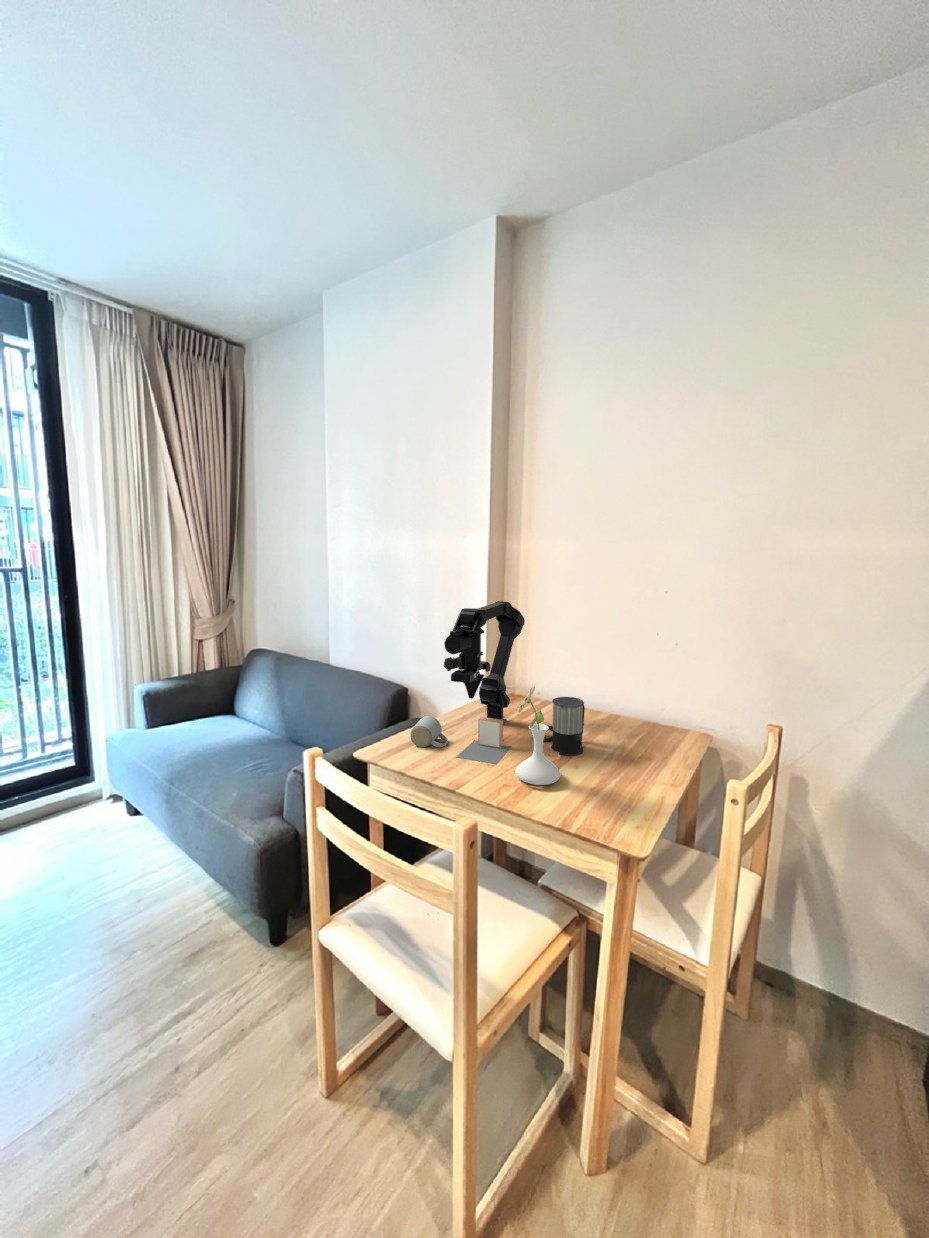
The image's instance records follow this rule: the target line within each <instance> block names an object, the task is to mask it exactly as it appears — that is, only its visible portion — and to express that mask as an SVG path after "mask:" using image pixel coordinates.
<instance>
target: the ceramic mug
mask: <svg viewBox="0 0 929 1238" xmlns="http://www.w3.org/2000/svg"><path fill="white" fill-rule="evenodd" d="M438 739H441V740H442V741H443V743H441V742H438V741H437V740H438ZM410 741H411V742H412V744H413V745H415V746H416V747H417V748H418V747H419V748H428V747H429V746H431V745H432V746H434V747H436V748H443V747H445V746H447V745H448V743H449V740H448V737H446V735H445V734H444V733H442V725H441V723H440V721H439V720H438V719H437V718H436V717H435V716H432V715H425V716H423V717H422V718H420V719H419V720H418V721H417V723H416V724H414V726H413V727H412V729H411V731H410Z"/></svg>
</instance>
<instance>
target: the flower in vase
mask: <svg viewBox="0 0 929 1238" xmlns="http://www.w3.org/2000/svg"><path fill="white" fill-rule="evenodd" d="M535 689H536V686H535V685H531V687H530V689H529V691H528V693H527V696H525V697H524V699H523V701H522V703H521V704H520V705H519V707H518V709H517V710H516V712H517V713H518V714H520V713H521V712H523V710H524V708H525V707H526V705H527V704H530V705H531V707H532V709H533V712H534V715H533V718H534V719H533V720H532V722H531V723H530V725H528V728H529V730H530V732H531V734H532V739H533V752H532V755H531V756H529V757H528V758H526V759H524V760H523V761H522V762H521V763H519V764H518V765H516V768H515V771H514V772H515V775H516V777H517V778H518V779H519V780H520V781H522V782H525V784H531V785H536V786H546V785H551V784H554V783H556V782H558V781H559V779H560V778H561V776H562V775H561V774H562V773H561V772H560V769H559V768H558V766H556V765H555V763H554V762H552V761H551V760H549V759H548V758H547V757H546V756H545V754H544V742H543V740H544V739H545V736H546V733H547V731H549V730H548V729H549V727H548V726H549V725H547V724H544V723H543V721H544V720H545V717H544V714H543V713H542V710H541V709H539V710H538V711H536V708H535V707H534V704H533V702H532V699H531V697H532V695H533V694H534V691H535Z"/></svg>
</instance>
